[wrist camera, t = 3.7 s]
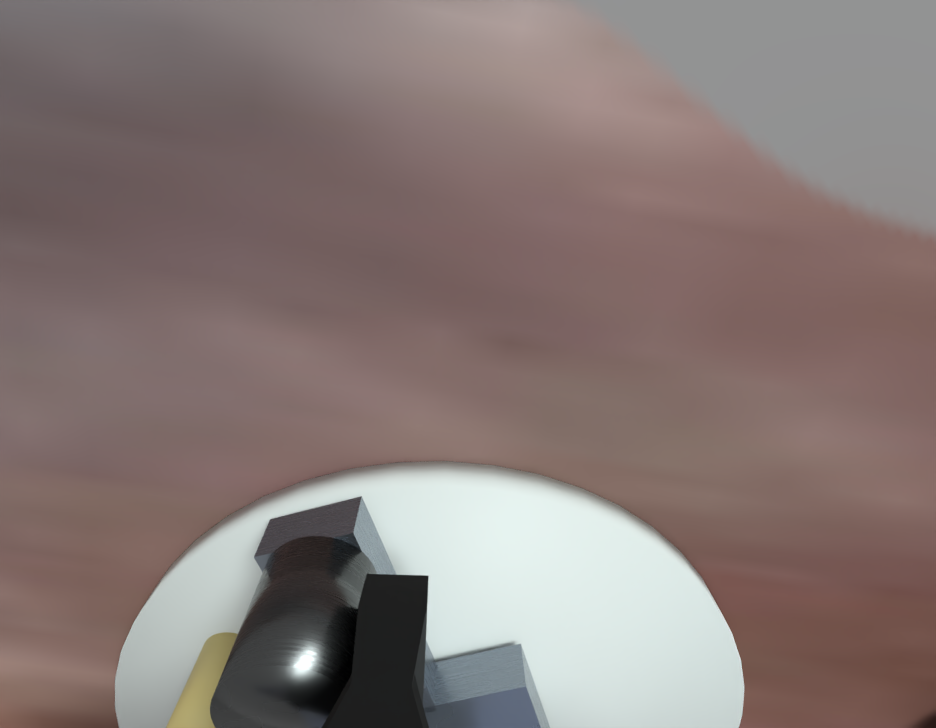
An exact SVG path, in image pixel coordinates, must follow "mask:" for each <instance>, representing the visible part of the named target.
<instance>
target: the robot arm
mask: <svg viewBox="0 0 936 728" xmlns="http://www.w3.org/2000/svg"><path fill="white" fill-rule="evenodd" d="M428 578H429V576H426V575H393V574H367V575H366V578H365V582H364V585H363V589H362V593H361V597H360V601H359V605H358V614H357V624H356V634H355V644H354V655H353V665H352V674H351V676H350V678H349V680H348V682H347V684H346V685H345V687H344V689H343V691H342V693H341V694H340V696H339V698H338V700H337V701H336V703H335V705H334V707H333V709H332V710H331V712H330V714H329V716H328V717H327V719H326V721H325V723H324V724H323V726H322V728H429V726H428V722H427V719H426V715H425V712H424V708H423V690H424V670H425V651H426V626H427V602H428Z"/></svg>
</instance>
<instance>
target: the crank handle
mask: <svg viewBox="0 0 936 728" xmlns="http://www.w3.org/2000/svg"><path fill="white" fill-rule="evenodd" d="M254 559H255V560H256V562H257V564H258V566H259V567H260V569H261V571H262V575H261V578H260V580H259V583H258V585H257V588H256V590H255V593H254V595H253V598H252V600H251V603H250V605H249V608H248V610H247V613H246V615H245V618H244V620H243V623H242V625H241V627H240V630H239V632H238V635H237V637H236V640H235V642H234V645H233V647H232V650H231V652H230V655H229V657H228V660H227V662H226V665H225V667H224V670H223V672H222V675H221V677H220V680H219V682H218V685H217V687H216V689H215V692H214V694H213V697H212V699H211V704H210V715H211V719H212V722H213V724H214V726H215V728H322V726H323V724H324V723H325V721H326V719H327V717H328V716H329V714H330V712H331V710H332V709H333V707H334V705H335V703H336V701H337V700H338V698H339V696H340V694H341V693H342V691H343V689H344V687H345V685H346V684H347V682H348V680H349V678H350V676H351V674H352V665H353V655H354V644H355V634H356V624H357V614H358V605H359V601H360V597H361V593H362V589H363V585H364V582H365V578H366V575H367V574H393V575H397V574H396V572H395V570H394V567H393V565H392V563H391V561H390V558H389V556H388V554H387V552H386V550H385V547H384V545H383V543H382V541H381V538H380V536H379V534H378V532H377V529H376V527H375V525H374V523H373V520H372V518H371V516H370V514H369V512H368V509H367V507H366V505H365V503H364V500H363V498H362V496H361V497H357V498H353V499H349V500H345V501H341V502H337V503H333V504H329V505H325V506H321V507H317V508H313V509H309V510H305V511H301V512H297V513H293V514H289V515H285V516H281V517H277V518H273V519H270V521H269V523H268V526H267V528H266V530H265V532H264V535H263V537H262V539H261V542H260V544H259V546H258V548H257V551H256V553H255V555H254ZM423 708H424V712H425V715H426V719H427V722H428V726H429V728H550V726H549V723H548V720H547V717H546V714H545V711H544V709H543V706H542V703H541V700H540V697H539V694H538V691H537V689H536V686H535V683H534V680H533V677H532V674H531V671H530V669H529V666H528V663H527V660H526V657H525V654H524V651H523V649H522V646H521V644H517V645H512V646H508V647H503V648H498V649H494V650H489V651H485V652H480V653H476V654H471V655H467V656H462V657H457V658H453V659H448V660H444V661H439V662H436V661H435V659H434V657H433V655H432V652H431V650H430V648H429V646H428V643H427V641H426V651H425V670H424V690H423Z"/></svg>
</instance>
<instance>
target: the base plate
mask: <svg viewBox="0 0 936 728" xmlns="http://www.w3.org/2000/svg"><path fill="white" fill-rule="evenodd" d="M361 496H362V498H363V500H364V503H365V505H366V507H367V509H368V512H369V514H370V516H371V518H372V520H373V523H374V525H375V527H376V529H377V532H378V534H379V536H380V538H381V541H382V543H383V545H384V547H385V550H386V552H387V554H388V556H389V558H390V561H391V563H392V565H393V567H394V570H395V572H396V574H397V575H426V576H429V578H428V602H427V626H426V641H427V643H428V646H429V648H430V650H431V652H432V655H433V657H434V659H435V661H436V662H439V661H444V660H448V659H453V658H457V657H462V656H467V655H471V654H476V653H480V652H485V651H489V650H494V649H498V648H503V647H508V646H512V645H517V644H521V646H522V649H523V651H524V654H525V657H526V660H527V663H528V666H529V669H530V671H531V674H532V677H533V680H534V683H535V686H536V689H537V691H538V694H539V697H540V700H541V703H542V706H543V709H544V711H545V714H546V717H547V720H548V723H549V726H550V728H739V725H740V721H741V717H742V711H743V699H744V681H743V673H742V665H741V659H740V656H739V653H738V650H737V647H736V644H735V641H734V638H733V635H732V632H731V630H730V628H729V626H728V625H727V623H726V621H725V619H724V617H723V615H722V613H721V611H720V609H719V607H718V605H717V603H716V602H715V600H714V598H713V596H712V595H711V593H710V591H709V589H708V588H707V586H706V584H705V582H704V581H703V579H702V577H701V576H700V574H699V573H698V572H697V571H696V570H695V568H694V567H693V566H692V565H691V564H690V562H689V561H688V560H687V559H686V557H685V556H684V555H683V554H682V553H681V551H680V550H679V549H677V548H676V547H675V546H674V545H673V544H672V543H671V542H669V541H668V540H667V539H666V538H665V537H664V536H663V535H661V534H660V533H659V532H658V531H657V530H656V529H654V528H653V527H652V526H651V525H649V524H647V523H646V522H644V521H643V520H641V519H640V518H638V517H636V516H635V515H633V514H632V513H630V512H629V511H627V510H626V509H624V508H622V507H621V506H619V505H617V504H615V503H613V502H611V501H609V500H606V499H604V498H602V497H600V496H598V495H596V494H594V493H591V492H589V491H587V490H585V489H583V488H580V487H577V486H574V485H571V484H568V483H565V482H562V481H559V480H556V479H553V478H549V477H546V476H543V475H540V474H536V473H531V472H526V471H521V470H516V469H511V468H506V467H501V466H496V465H487V464H475V463H463V462H451V461H426V462H395V463H388V464H381V465H374V466H366V467H359V468H352V469H347V470H343V471H339V472H335V473H331V474H327V475H324V476H320V477H316V478H312V479H308V480H304V481H302V482H299V483H297V484H294V485H292V486H289V487H286V488H284V489H281V490H279V491H276V492H273V493H271V494H268V495H266V496H263V497H262V498H260V499H258V500H256V501H254V502H252V503H251V504H249V505H247V506H245V507H243V508H241V509H239V510H238V511H236V512H234V513H232V514H230V515H228V516H227V517H225V518H224V519H223V520H221V521H220V522H219V523H217V524H216V525H215V526H213V527H212V528H211V529H209V530H208V531H207V532H205V533H204V534H203V535H201V536H200V537H199V538H197V539H196V540H195V541H194V542H193V543H192V544H191V545H190V546H189V547H188V548H187V549H186V550H185V551H184V552H183V553H182V554H181V555H180V556H179V557H178V558H177V559H176V560H175V561H174V562H173V563H172V564H171V566H170V567H169V569H168V570H167V572H166V573H165V574H164V576H163V577H162V579H161V580H160V582H159V583H158V585H157V586H156V587H155V589H154V590H153V592H152V593H151V595H150V597H149V598H148V600H147V602H146V603H145V605H144V606H143V608H142V610H141V611H140V613H139V615H138V616H137V618H136V620H135V621H134V623H133V625H132V628H131V630H130V632H129V634H128V637H127V639H126V641H125V643H124V646H123V648H122V650H121V654H120V659H119V664H118V668H117V673H116V678H115V710H116V715H117V720H118V725H119V728H215V726H214V724H213V722H212V719H211V715H210V704H211V699H212V697H213V694H214V692H215V689H216V687H217V685H218V682H219V680H220V677H221V675H222V672H223V670H224V667H225V665H226V662H227V660H228V657H229V655H230V652H231V650H232V647H233V645H234V642H235V640H236V637H237V635H238V632H239V630H240V627H241V625H242V623H243V620H244V618H245V615H246V613H247V610H248V608H249V605H250V603H251V600H252V598H253V595H254V593H255V590H256V588H257V585H258V583H259V580H260V578H261V575H262V571H261V569H260V567H259V566H258V564H257V562H256V560H255V559H254V555H255V553H256V551H257V548H258V546H259V544H260V542H261V539H262V537H263V535H264V532H265V530H266V528H267V526H268V523H269V521H270V519H273V518H277V517H281V516H285V515H289V514H293V513H297V512H301V511H305V510H309V509H313V508H317V507H321V506H325V505H329V504H333V503H337V502H341V501H345V500H349V499H353V498H357V497H361Z"/></svg>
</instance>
